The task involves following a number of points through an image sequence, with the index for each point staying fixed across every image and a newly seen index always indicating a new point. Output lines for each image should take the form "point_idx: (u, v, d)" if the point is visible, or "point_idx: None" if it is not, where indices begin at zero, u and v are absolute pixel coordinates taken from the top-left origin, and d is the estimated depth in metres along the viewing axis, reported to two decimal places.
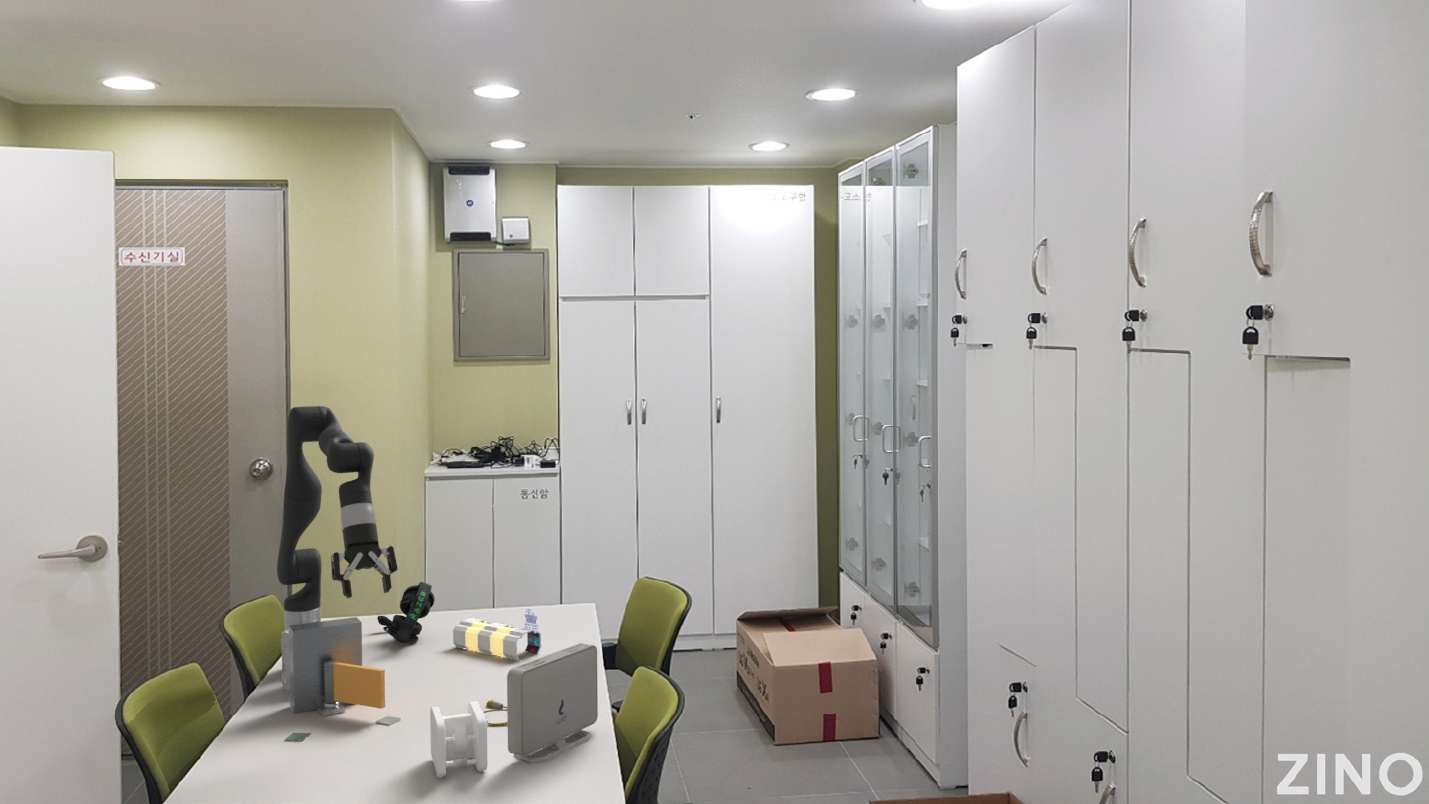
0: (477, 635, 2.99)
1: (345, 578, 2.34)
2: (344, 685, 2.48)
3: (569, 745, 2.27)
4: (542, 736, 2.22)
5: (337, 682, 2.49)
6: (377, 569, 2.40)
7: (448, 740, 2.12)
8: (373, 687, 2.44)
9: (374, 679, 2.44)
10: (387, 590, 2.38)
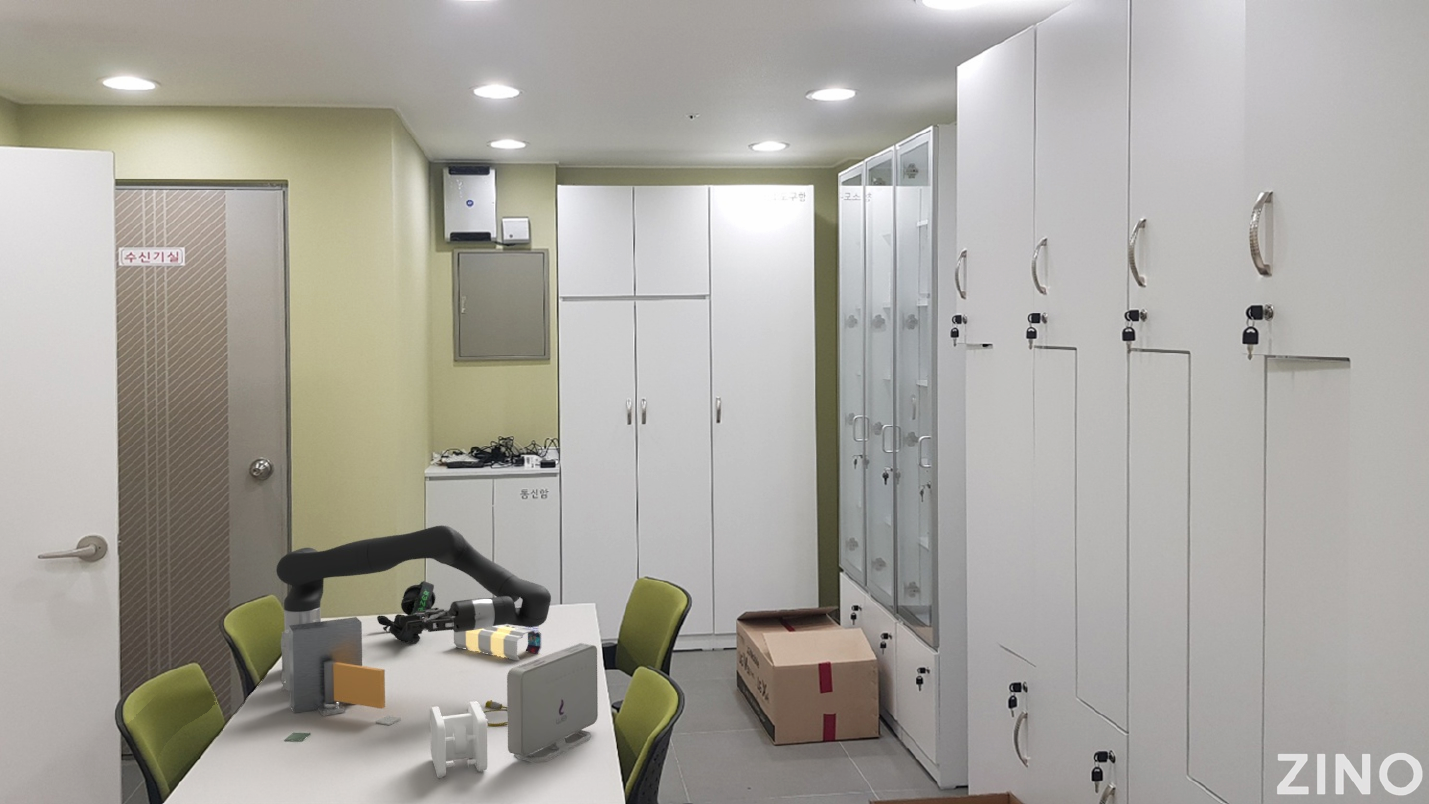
0: (478, 635, 2.99)
1: None
2: (344, 685, 2.48)
3: (569, 745, 2.27)
4: (542, 736, 2.22)
5: (337, 682, 2.49)
6: (425, 616, 2.52)
7: (448, 740, 2.12)
8: (373, 687, 2.44)
9: (374, 679, 2.44)
10: (401, 625, 2.50)
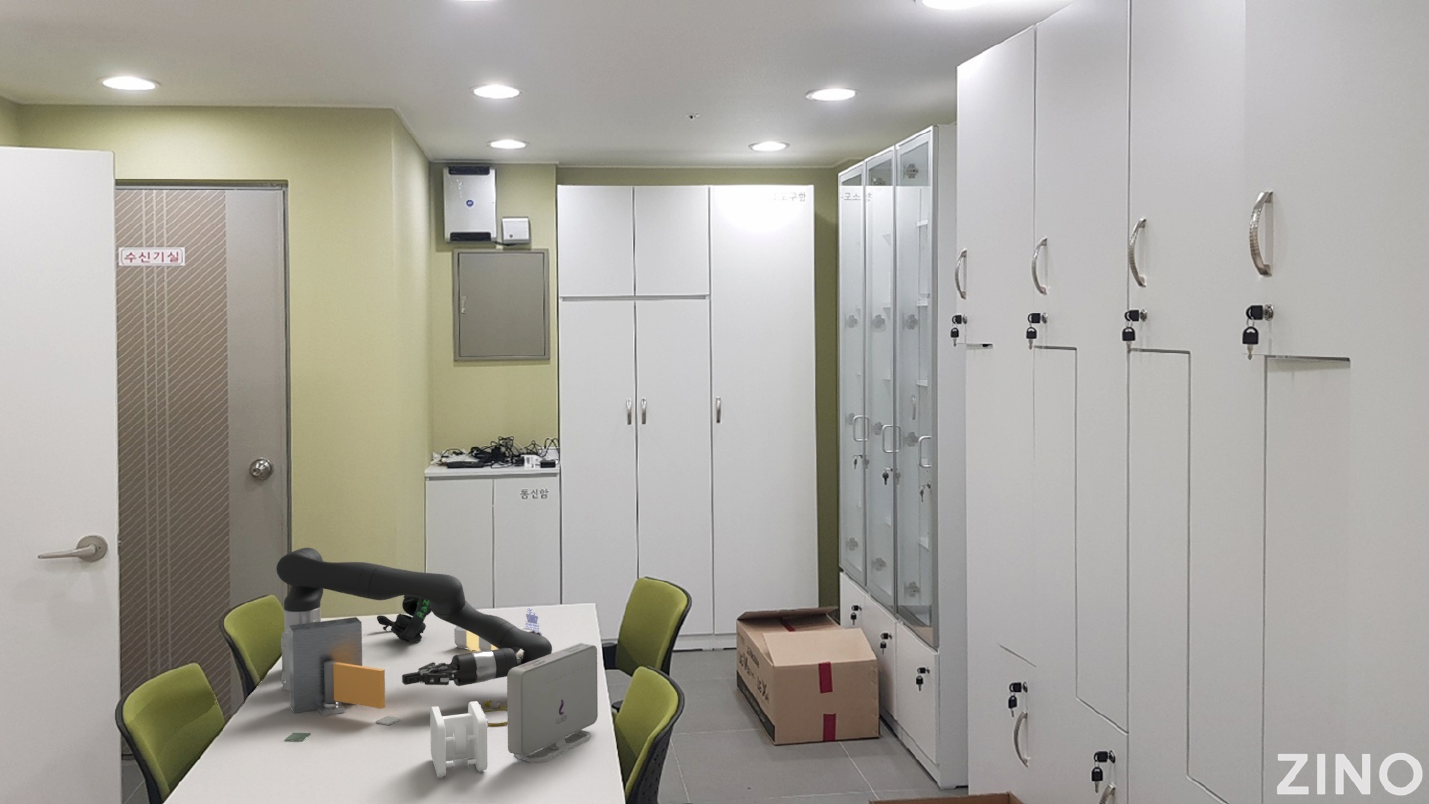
0: None
1: None
2: (344, 685, 2.48)
3: (569, 745, 2.27)
4: (542, 736, 2.22)
5: (337, 682, 2.49)
6: None
7: (448, 740, 2.12)
8: (373, 687, 2.44)
9: (374, 679, 2.44)
10: None
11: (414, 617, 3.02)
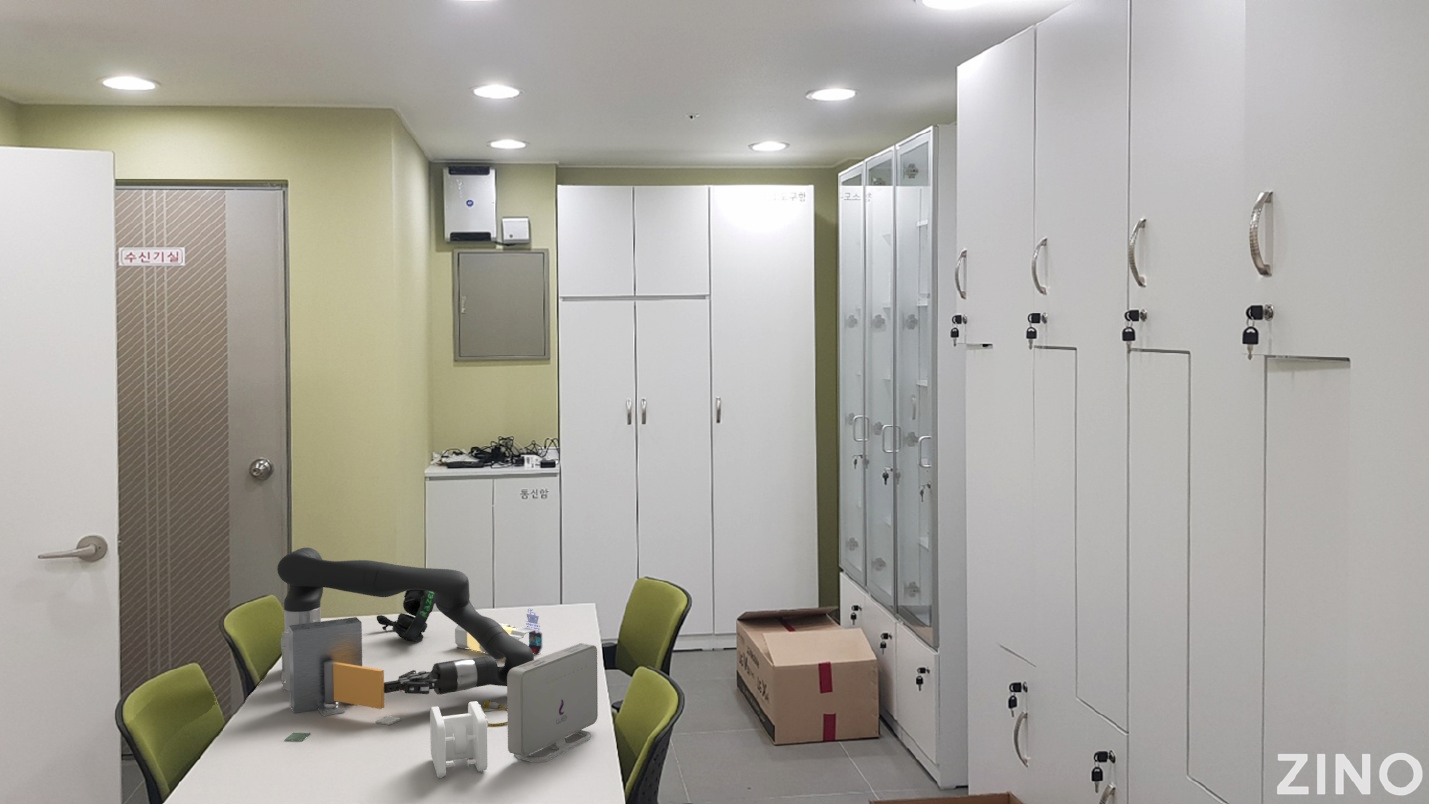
0: None
1: None
2: (344, 685, 2.48)
3: (569, 745, 2.27)
4: (542, 736, 2.22)
5: (337, 682, 2.49)
6: None
7: (448, 740, 2.12)
8: (372, 687, 2.44)
9: (373, 679, 2.44)
10: None
11: (417, 616, 3.03)
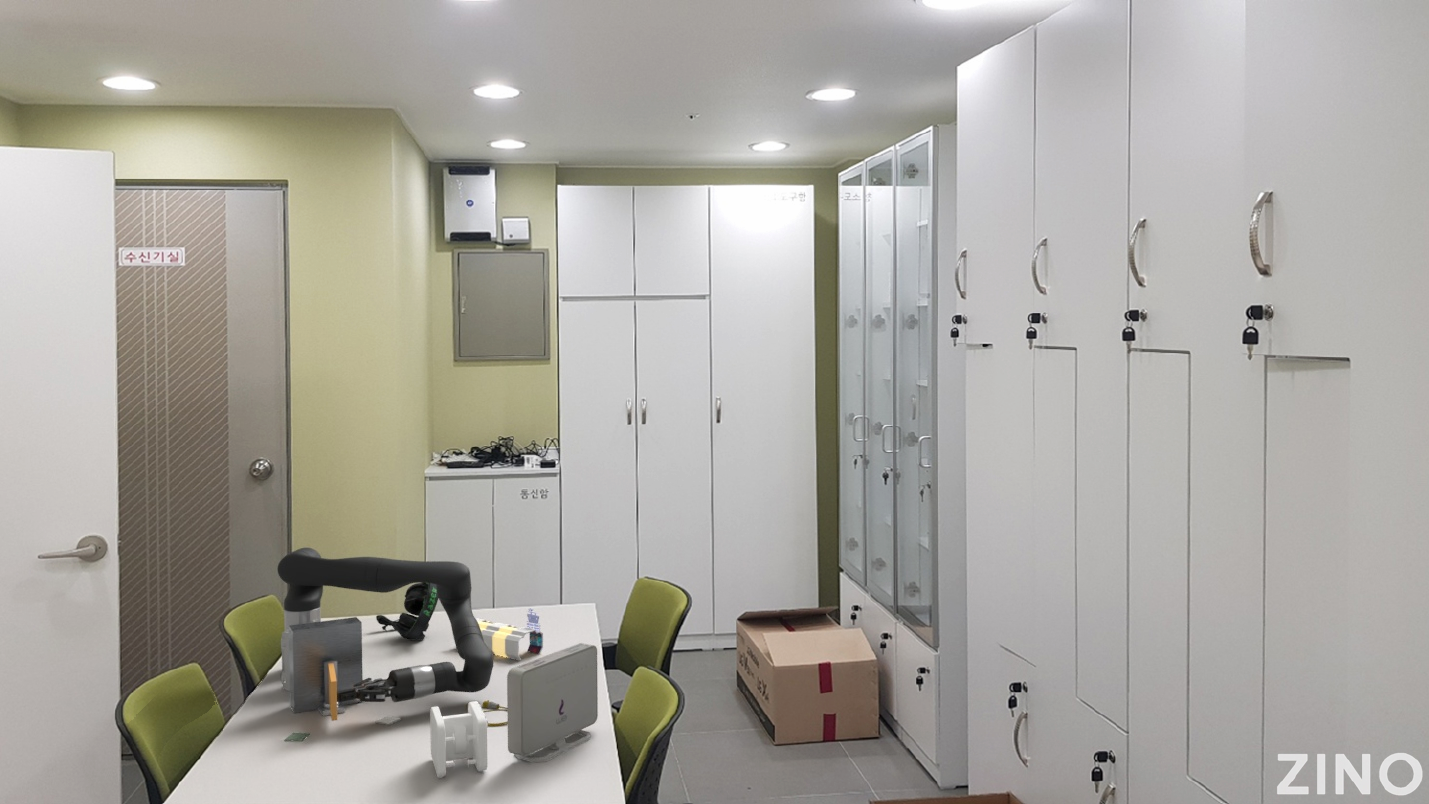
0: None
1: None
2: None
3: (569, 745, 2.27)
4: (542, 736, 2.22)
5: None
6: None
7: (448, 740, 2.12)
8: None
9: None
10: (337, 700, 2.39)
11: (421, 615, 3.04)
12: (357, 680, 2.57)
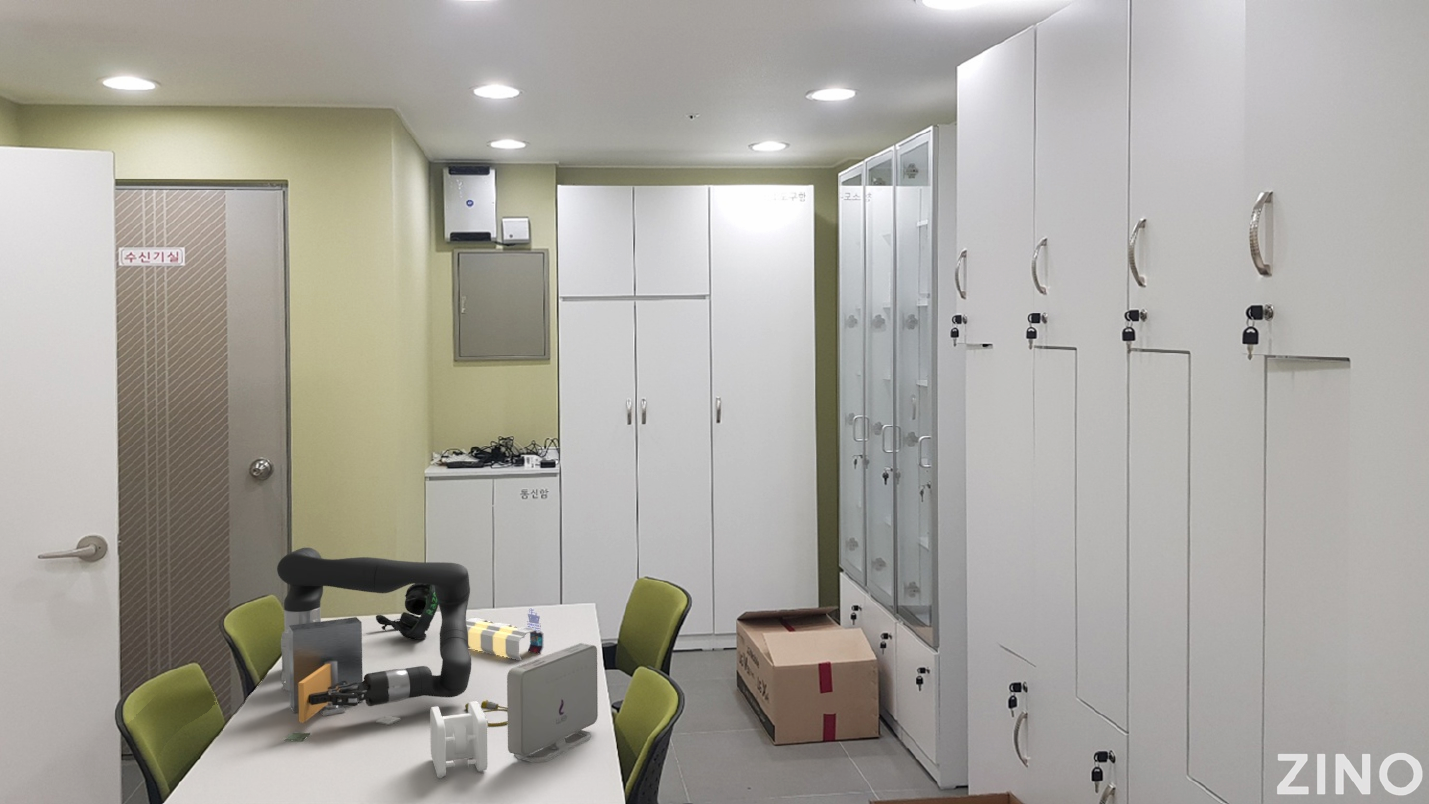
0: (480, 635, 3.00)
1: None
2: None
3: (569, 745, 2.27)
4: (542, 736, 2.22)
5: None
6: None
7: (448, 740, 2.12)
8: None
9: None
10: None
11: (424, 615, 3.05)
12: (357, 680, 2.57)
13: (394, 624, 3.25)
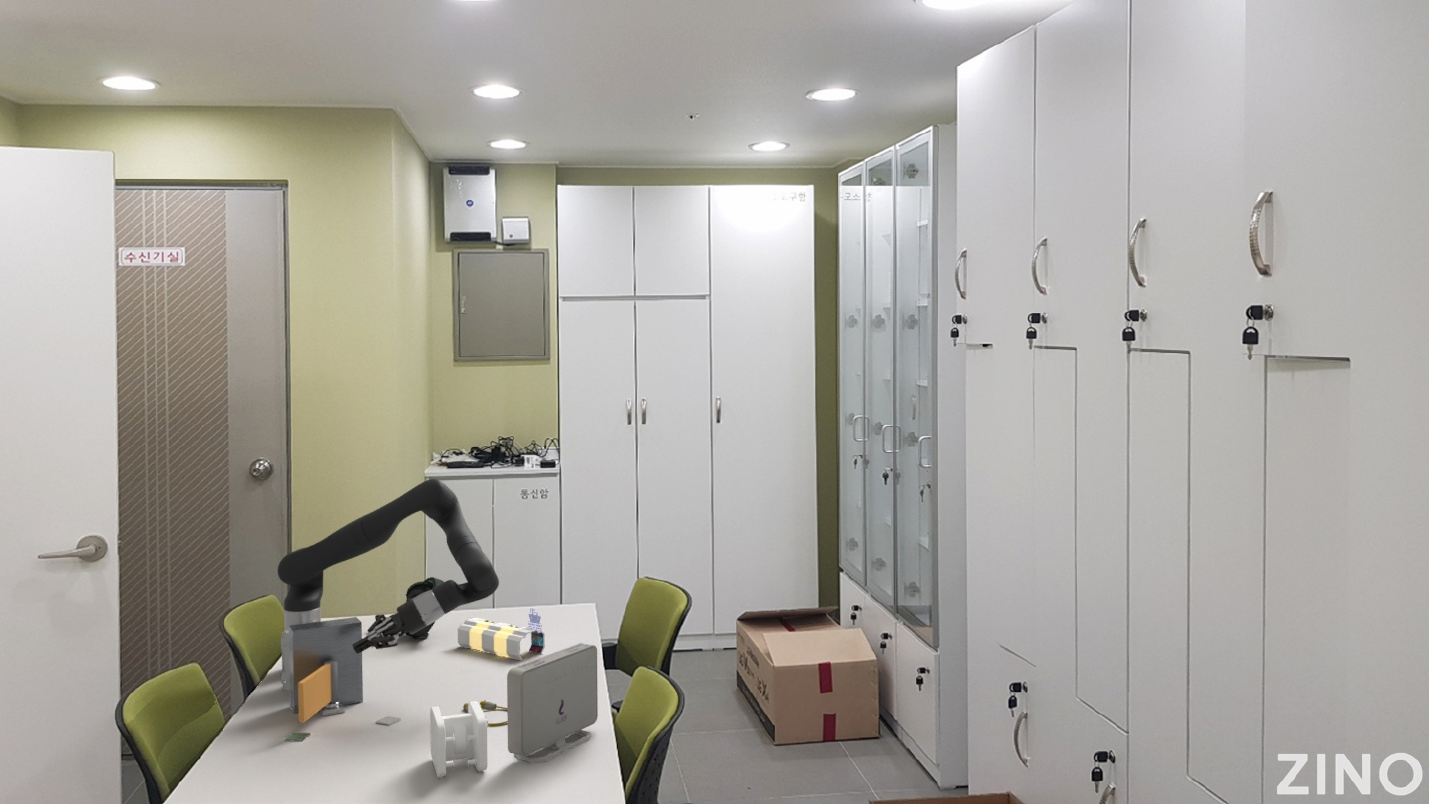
0: (481, 634, 3.00)
1: None
2: None
3: (569, 745, 2.27)
4: (542, 736, 2.22)
5: None
6: None
7: (448, 740, 2.12)
8: None
9: None
10: None
11: None
12: (357, 680, 2.57)
13: None
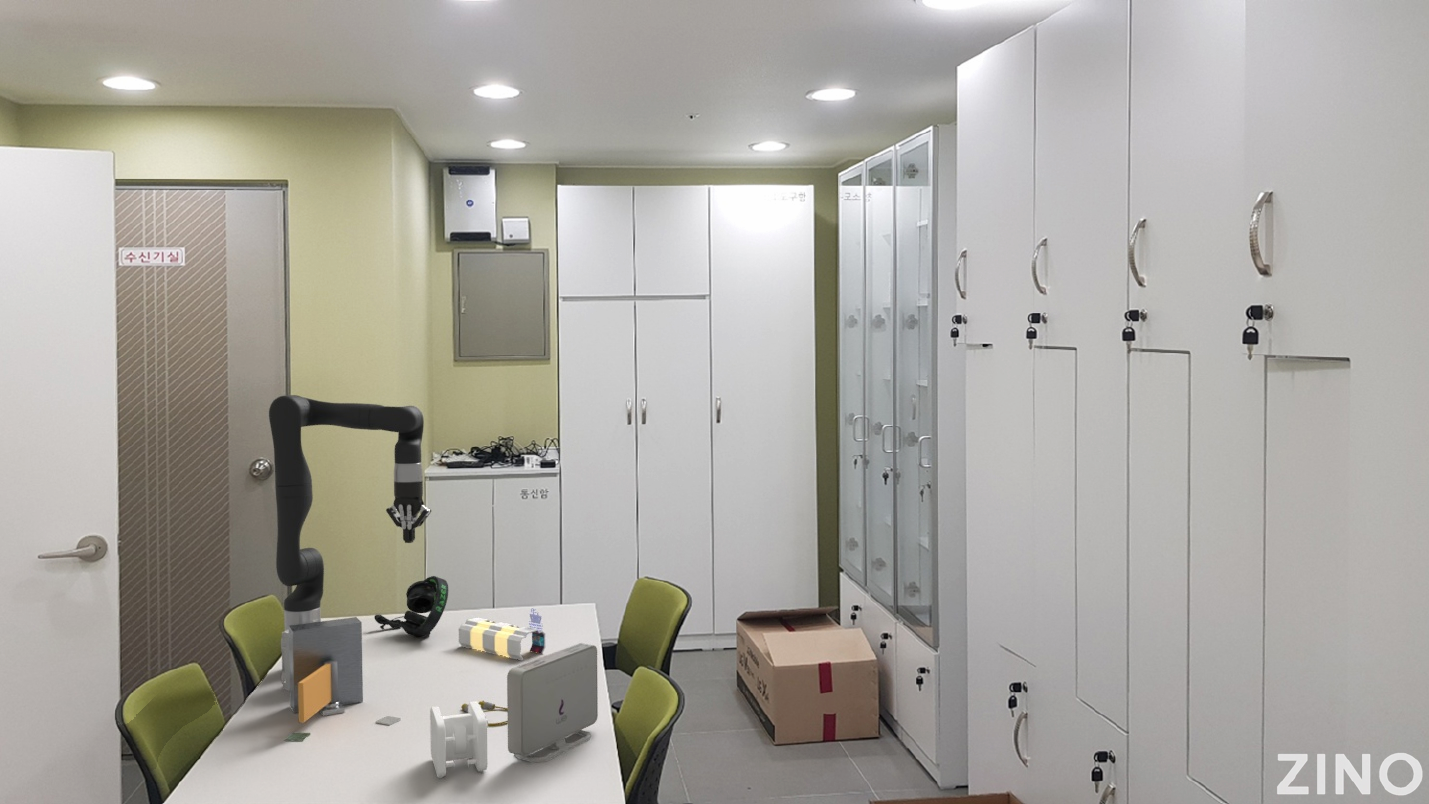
0: (482, 634, 3.00)
1: None
2: None
3: (569, 745, 2.27)
4: (542, 736, 2.22)
5: None
6: (406, 519, 2.82)
7: (448, 740, 2.12)
8: None
9: None
10: None
11: (433, 612, 3.08)
12: (357, 680, 2.57)
13: (392, 623, 3.26)
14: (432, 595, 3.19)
